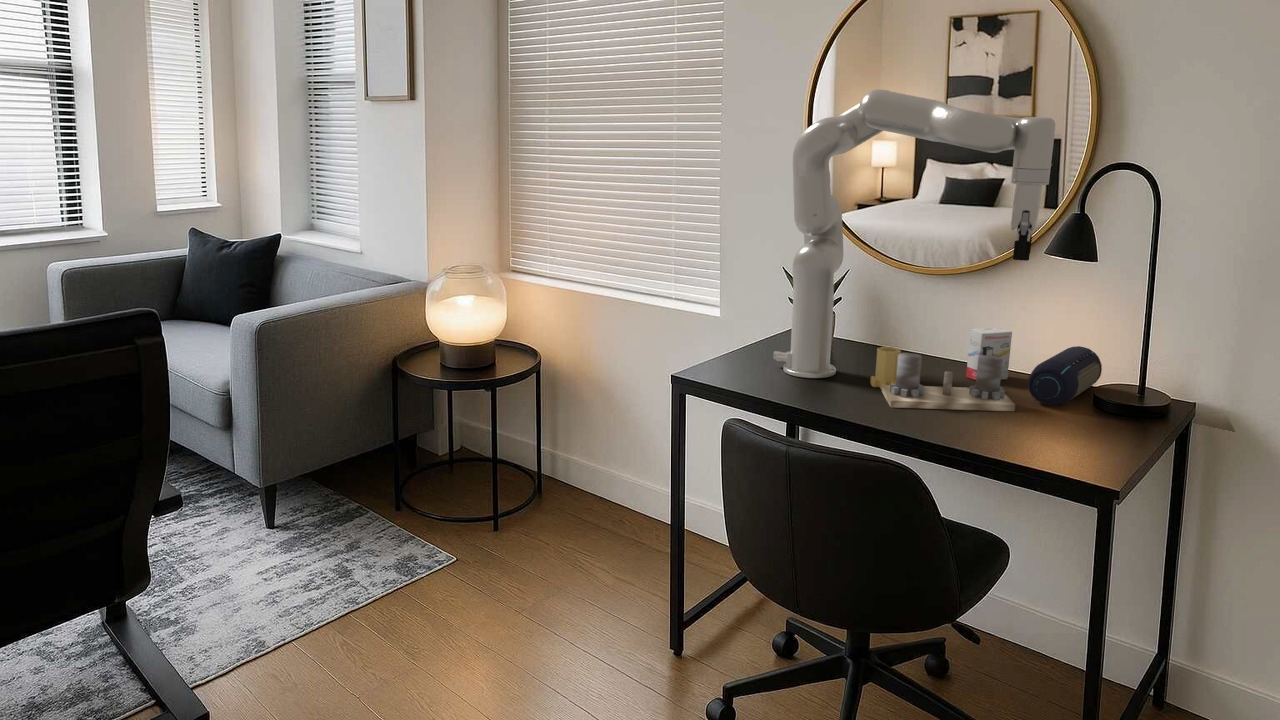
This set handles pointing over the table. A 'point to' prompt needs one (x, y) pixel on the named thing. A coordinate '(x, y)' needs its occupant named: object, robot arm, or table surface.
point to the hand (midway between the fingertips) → (1021, 256)
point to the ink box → (988, 348)
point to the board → (947, 401)
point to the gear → (885, 367)
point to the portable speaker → (1064, 376)
